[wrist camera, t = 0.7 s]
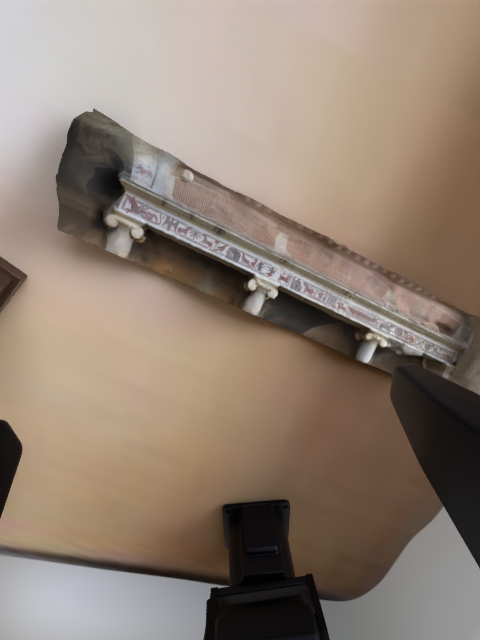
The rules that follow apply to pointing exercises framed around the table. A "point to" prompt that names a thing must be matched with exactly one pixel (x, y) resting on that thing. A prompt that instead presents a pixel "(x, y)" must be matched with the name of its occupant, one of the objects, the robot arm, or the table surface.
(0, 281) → the hook stand
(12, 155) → the table surface
